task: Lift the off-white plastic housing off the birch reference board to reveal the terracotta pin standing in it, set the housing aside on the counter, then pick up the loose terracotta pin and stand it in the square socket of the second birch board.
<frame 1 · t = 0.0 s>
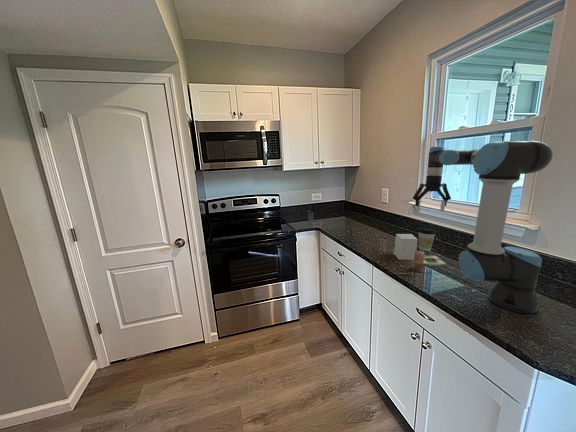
hand: (429, 211, 145), 28 cm above the worktop, fingers open, 13 cm apart
peg: (417, 271, 132), on the worktop
socket board: (429, 263, 141), on the worktop
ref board: (404, 258, 148), on the worktop
housing: (404, 256, 148), point 1 cm above the worktop, touching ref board
coffee cup: (424, 251, 159), on the worktop
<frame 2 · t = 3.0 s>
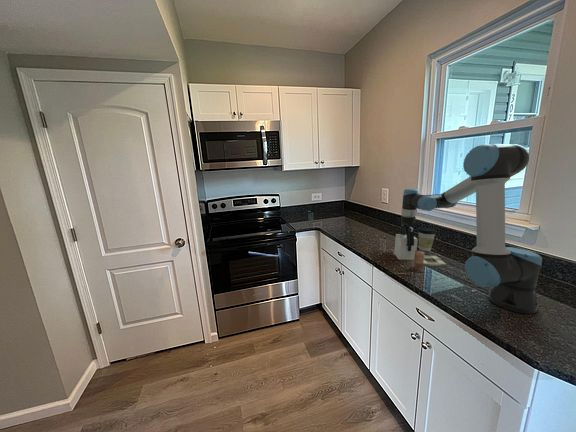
hand: (404, 252, 147), 4 cm above the worktop, fingers closed on housing, 9 cm apart
housing: (404, 256, 148), point 2 cm above the worktop, touching gripper, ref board
everything else where it was.
when the fingers open (4 cm above the worktop, at t = 7.9 s): housing drops 2 cm, on the worktop.
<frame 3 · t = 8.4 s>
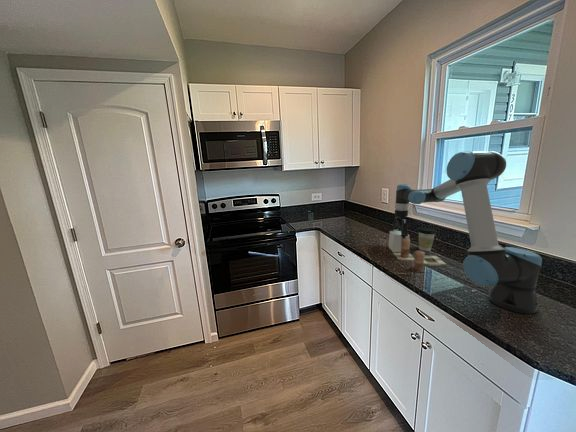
hand: (398, 242, 158), 6 cm above the worktop, fingers open, 13 cm apart
housing: (397, 251, 159), on the worktop
everything else where it was.
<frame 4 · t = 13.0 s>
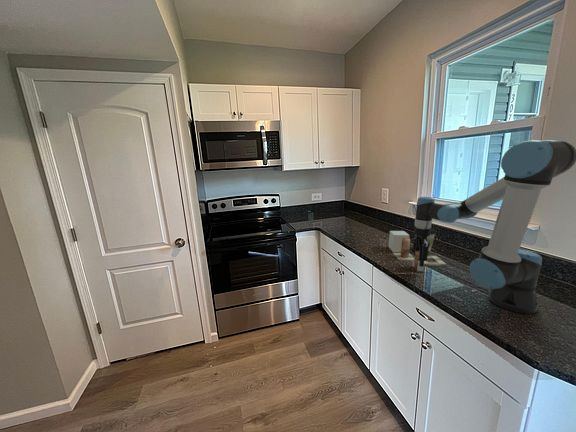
hand: (417, 269, 132), 1 cm above the worktop, fingers closed on peg, 4 cm apart
peg: (417, 271, 132), on the worktop, touching gripper
everything else where it was.
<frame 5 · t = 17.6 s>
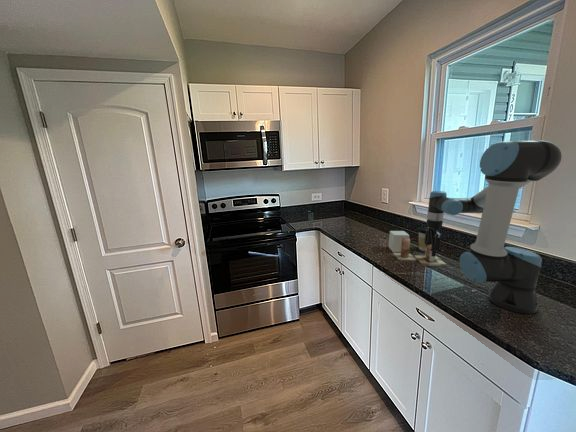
hand: (429, 259, 140), 3 cm above the worktop, fingers closed on peg, 4 cm apart
peg: (429, 263, 141), resting in socket board, touching gripper
everything else where it was.
when the fingers open (3 cm above the worktop, at t = 19.0 s): peg stays where it is, resting in socket board.
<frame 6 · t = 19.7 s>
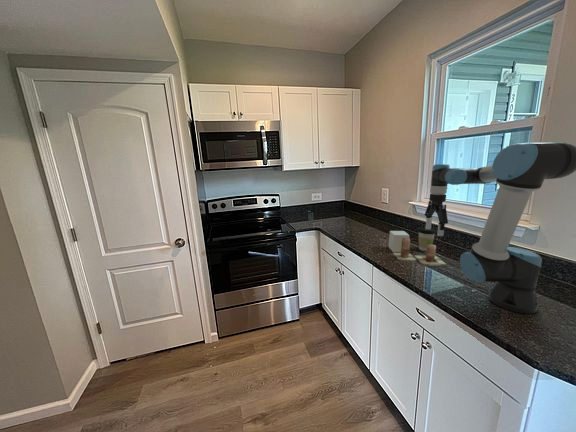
hand: (433, 232, 136), 19 cm above the worktop, fingers open, 13 cm apart
peg: (429, 263, 141), resting in socket board
everything else where it was.
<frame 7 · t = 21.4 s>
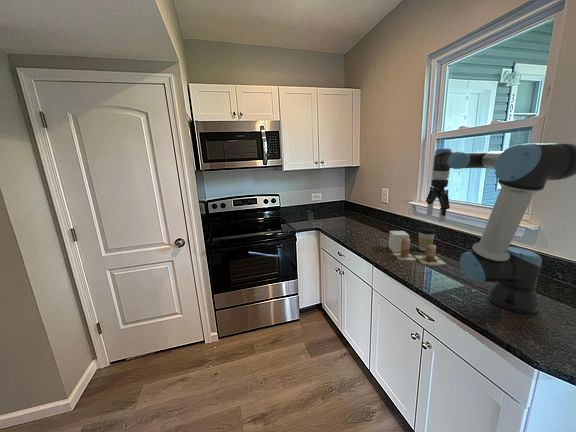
hand: (435, 218, 135), 27 cm above the worktop, fingers open, 13 cm apart
nothing on the worktop moved.
at the end: peg 0.2 cm off-centre on the socket board, point 0.0 cm above the socket board's base; peg tilted 0°; housing moved 11.5 cm from its start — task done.
